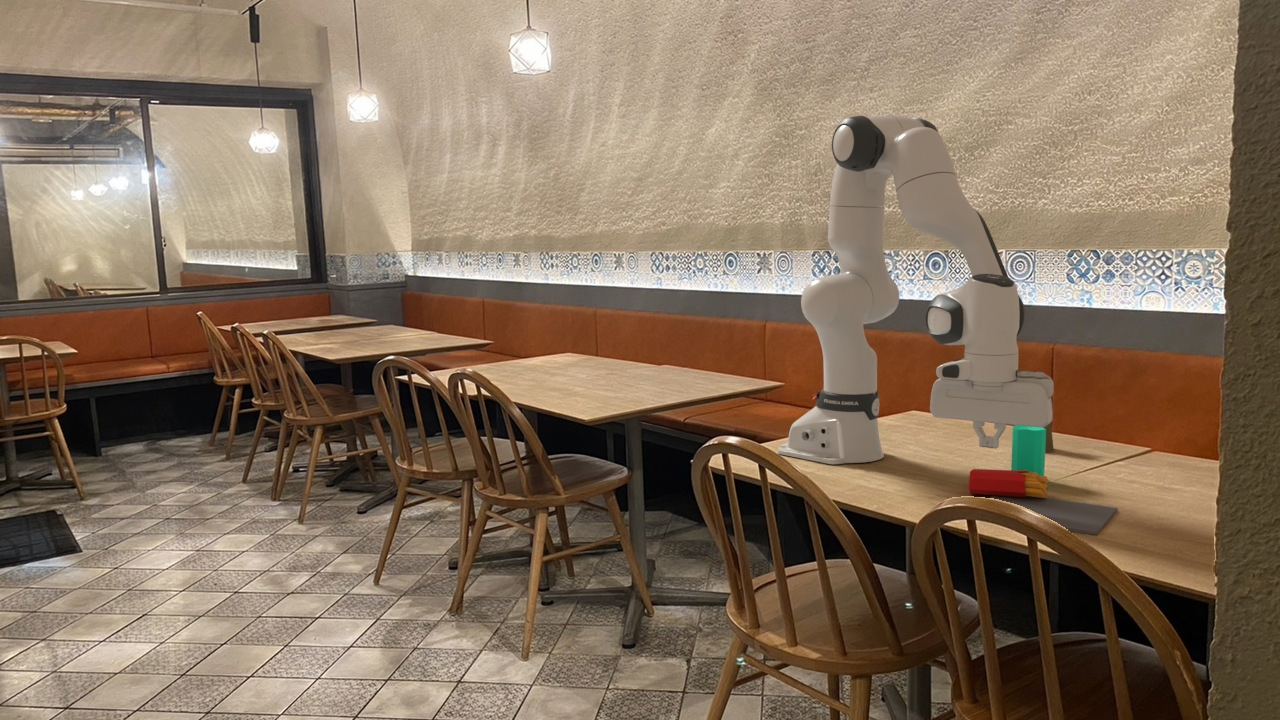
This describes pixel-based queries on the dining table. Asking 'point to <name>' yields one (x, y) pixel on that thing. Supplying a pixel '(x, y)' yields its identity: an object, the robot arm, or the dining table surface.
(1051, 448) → the cork
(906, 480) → the dining table surface
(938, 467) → the dining table surface
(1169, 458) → the dining table surface
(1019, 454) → the candle
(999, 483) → the french fries
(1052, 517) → the mat
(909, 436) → the dining table surface
